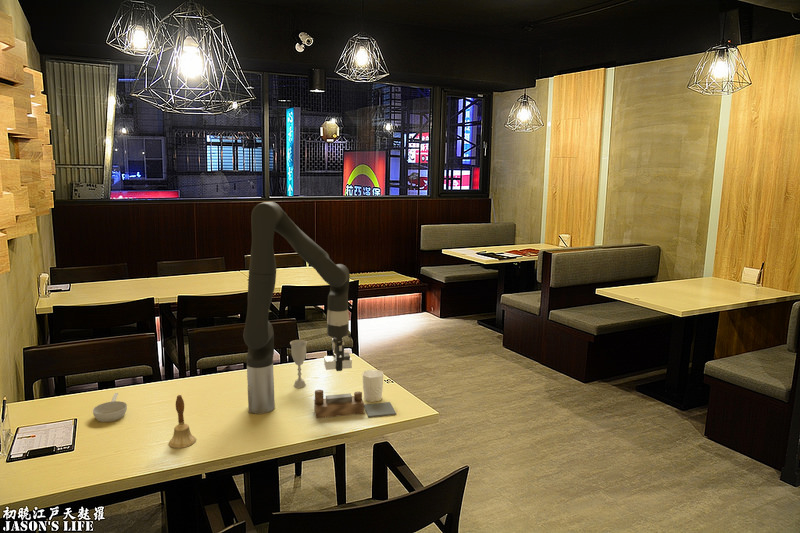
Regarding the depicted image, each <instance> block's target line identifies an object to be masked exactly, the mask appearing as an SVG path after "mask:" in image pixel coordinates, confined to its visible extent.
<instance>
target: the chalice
mask: <svg viewBox="0 0 800 533" xmlns="http://www.w3.org/2000/svg"><path fill="white" fill-rule="evenodd" d="M307 344H308V341H307V340H306V339H295V340H291V341H290V342H289V345H290V347H291V348H290V349H291V350H290V351H291V357H292V360H293V362H294V363H295V365H296V366H297V367H298V368H297V376H298V378H297V379H295V381H294V383H293V387H294V388H296V389H302V388H305V387H306V386H307V384H306V382H305V380H304V379H303V378H302V377H301V376H302V372H301V371H302V368H301V365H303V364H304V361H305V360H306V357H307Z"/></svg>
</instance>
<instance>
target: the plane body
mask: <svg viewBox="0 0 800 533" xmlns="http://www.w3.org/2000/svg"><path fill="white" fill-rule="evenodd" d="M313 403H314V404H313V406H314V407H313V408H314V415H315V418H316V419H322V418H323V419H325V418H331V417H344V416H355V415H364V414H365V408H364V404H365V403H364V400H363V392H362V391H354V394H353V395H352V394H351V393H350V392H349V393H340V394H331V395H330V394H329V395H325V398H324V390H323V389H316V390H314V400H313Z"/></svg>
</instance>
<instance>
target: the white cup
mask: <svg viewBox="0 0 800 533" xmlns="http://www.w3.org/2000/svg"><path fill="white" fill-rule="evenodd" d="M361 375H362V388H363V398H364V400H365V401H367V402H380V401H381V400H383V399H382V398H383V390H384V389H383V388H384V387H383V386H384V371H382V370H379V369H367V370H364V371H363V372H362V374H361Z"/></svg>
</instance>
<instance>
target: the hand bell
mask: <svg viewBox="0 0 800 533" xmlns="http://www.w3.org/2000/svg"><path fill="white" fill-rule="evenodd" d="M175 410H176V412H177V416H178V417H177V419H178V421H177V422H178V424H176V425H175V426H174V428H173V430H174V431H173V435H172V437H171V439H170V440H169V441H168V446H169V447H171V448H173V449H184V448H188V447H190V446H193V445H194V444H196V442H197V438H196V437H195V436H194V435H193V433H191V430H190V426H189V424H187V423H185V417H184V411H185V401H184V399H183V397H182V394H178V395H177V396H176V400H175Z"/></svg>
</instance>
